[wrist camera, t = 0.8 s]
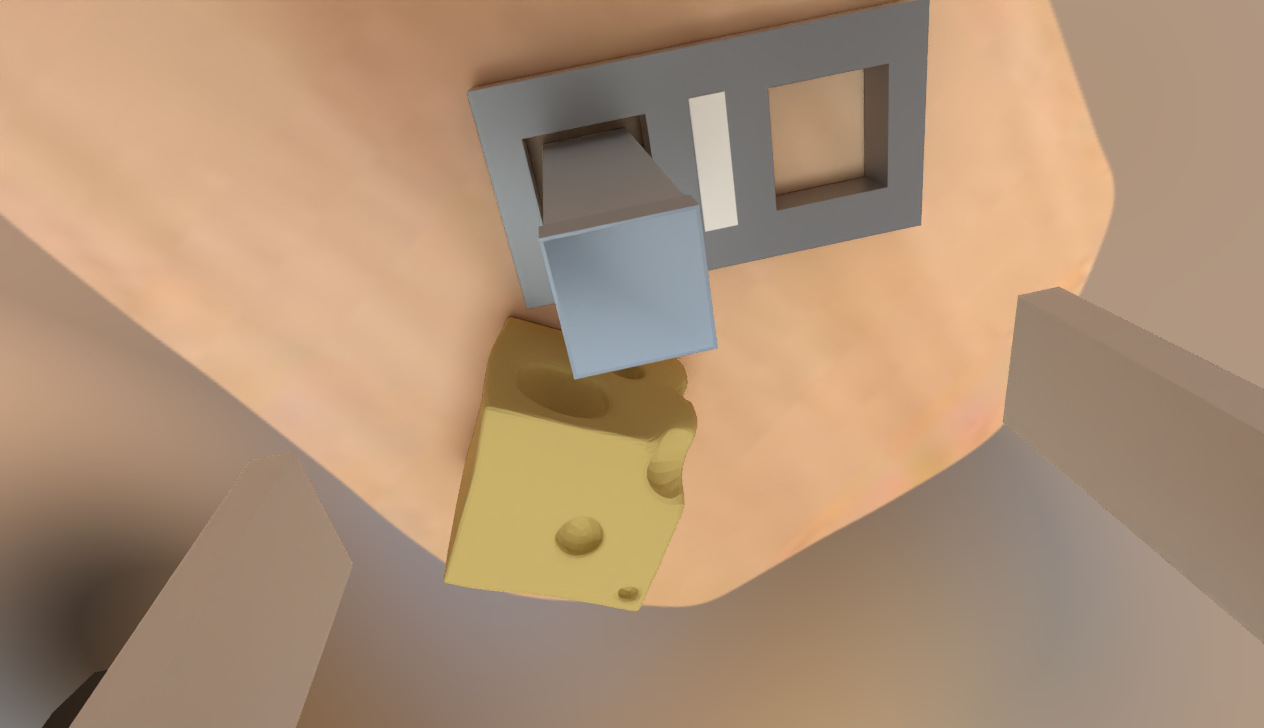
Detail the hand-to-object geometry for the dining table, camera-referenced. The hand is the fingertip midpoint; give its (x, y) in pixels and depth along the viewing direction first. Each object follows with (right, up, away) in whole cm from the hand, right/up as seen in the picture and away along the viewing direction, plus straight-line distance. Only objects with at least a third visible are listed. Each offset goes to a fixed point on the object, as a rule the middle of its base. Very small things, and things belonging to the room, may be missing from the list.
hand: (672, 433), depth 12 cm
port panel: (+3, +12, +20) cm, 23 cm away
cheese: (-5, -1, +26) cm, 26 cm away
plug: (-3, +10, +20) cm, 22 cm away
